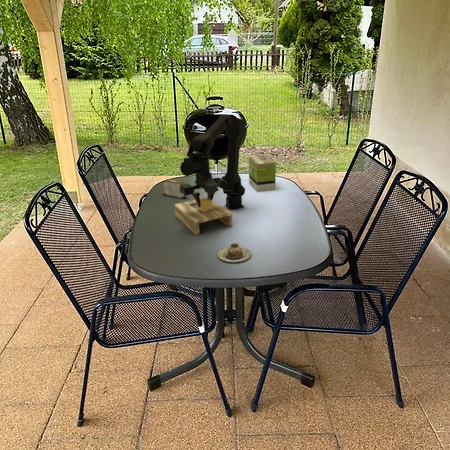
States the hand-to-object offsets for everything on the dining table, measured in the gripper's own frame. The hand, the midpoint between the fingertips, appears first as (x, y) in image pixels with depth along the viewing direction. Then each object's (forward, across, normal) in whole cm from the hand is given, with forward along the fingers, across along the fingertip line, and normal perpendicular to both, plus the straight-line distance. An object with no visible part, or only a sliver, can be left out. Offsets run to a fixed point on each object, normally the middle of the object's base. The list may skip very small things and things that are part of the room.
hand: (204, 206), depth 179 cm
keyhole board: (+8, 0, +2) cm, 8 cm away
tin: (+8, +2, +38) cm, 39 cm away
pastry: (+8, -4, -32) cm, 33 cm away
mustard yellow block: (+4, 0, 0) cm, 4 cm away
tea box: (+8, +46, +27) cm, 54 cm away
